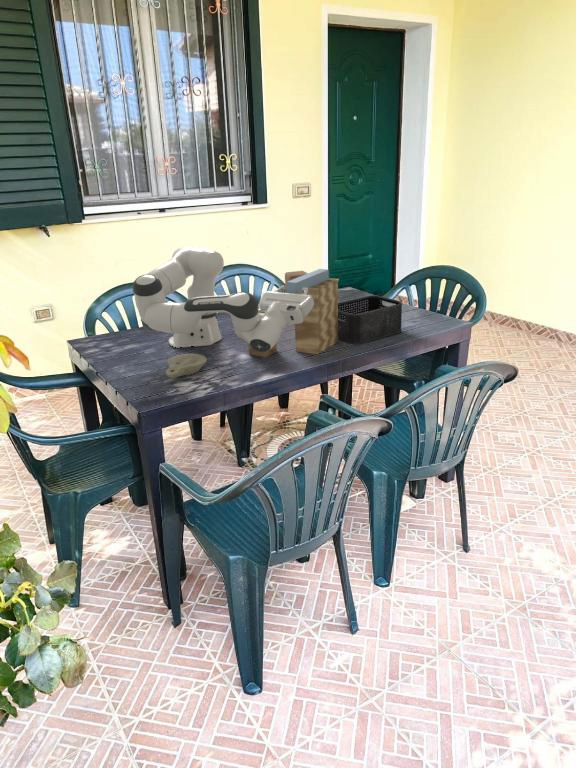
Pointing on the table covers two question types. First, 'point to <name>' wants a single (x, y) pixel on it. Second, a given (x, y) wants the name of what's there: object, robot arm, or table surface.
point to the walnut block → (263, 354)
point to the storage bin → (368, 319)
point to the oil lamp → (185, 364)
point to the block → (292, 276)
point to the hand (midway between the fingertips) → (295, 287)
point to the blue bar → (307, 280)
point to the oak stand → (319, 319)
